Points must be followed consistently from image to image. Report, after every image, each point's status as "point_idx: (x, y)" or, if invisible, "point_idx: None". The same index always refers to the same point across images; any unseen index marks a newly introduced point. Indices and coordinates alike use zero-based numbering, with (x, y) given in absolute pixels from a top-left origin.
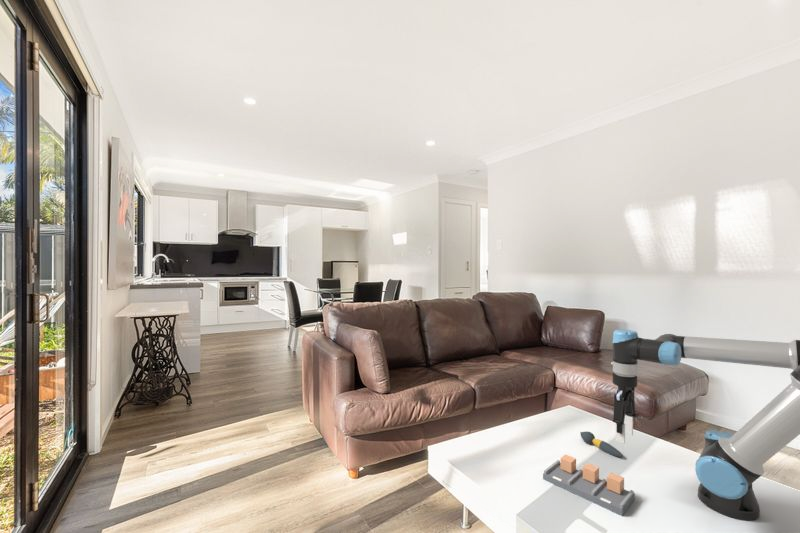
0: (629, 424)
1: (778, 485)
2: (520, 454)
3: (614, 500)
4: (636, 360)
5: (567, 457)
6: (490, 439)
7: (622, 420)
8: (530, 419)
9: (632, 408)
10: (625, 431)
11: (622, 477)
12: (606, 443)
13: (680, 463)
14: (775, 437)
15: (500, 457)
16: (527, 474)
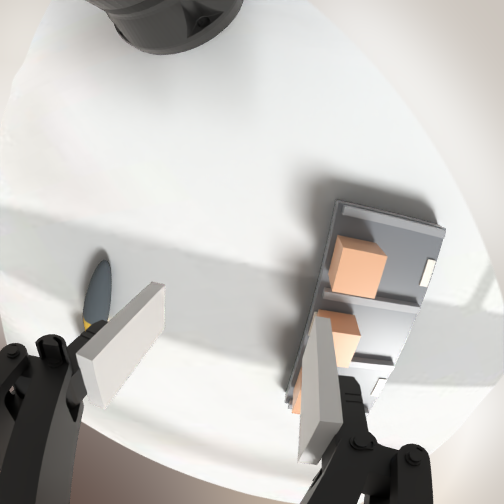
0: (130, 340)
1: None
2: (280, 449)
3: (413, 252)
4: None
5: None
6: (257, 483)
7: (370, 469)
8: (110, 437)
9: (25, 414)
10: (158, 328)
11: (346, 252)
12: (90, 311)
13: (43, 130)
14: None
15: (320, 465)
16: None
